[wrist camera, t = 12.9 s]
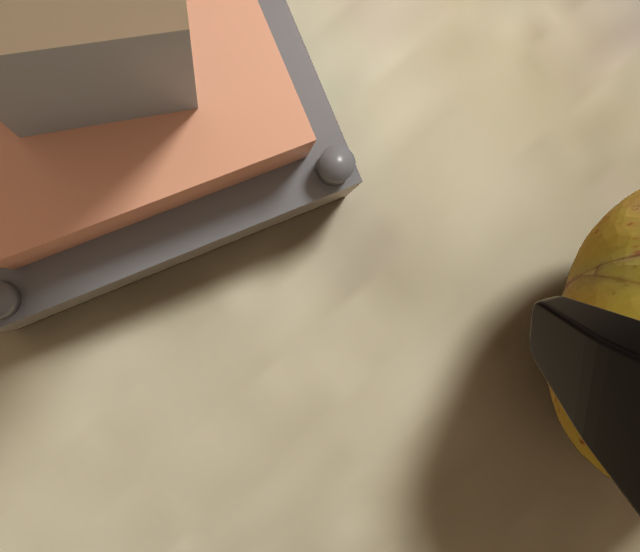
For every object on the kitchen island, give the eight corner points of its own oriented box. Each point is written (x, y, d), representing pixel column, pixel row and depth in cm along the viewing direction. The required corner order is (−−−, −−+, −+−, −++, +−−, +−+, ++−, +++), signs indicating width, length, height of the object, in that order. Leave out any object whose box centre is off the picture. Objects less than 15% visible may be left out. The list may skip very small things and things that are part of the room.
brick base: (346, 195, 22) (378, 167, 17) (14, 330, 19) (-48, 337, 15) (215, -113, 21) (214, -223, 17) (-139, -16, 19) (-248, -114, 15)
